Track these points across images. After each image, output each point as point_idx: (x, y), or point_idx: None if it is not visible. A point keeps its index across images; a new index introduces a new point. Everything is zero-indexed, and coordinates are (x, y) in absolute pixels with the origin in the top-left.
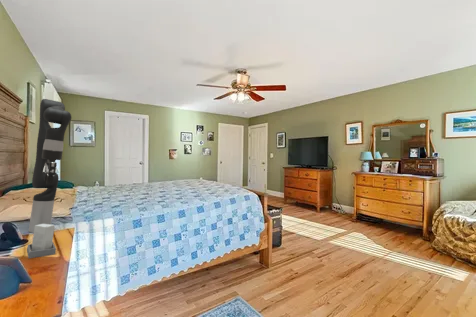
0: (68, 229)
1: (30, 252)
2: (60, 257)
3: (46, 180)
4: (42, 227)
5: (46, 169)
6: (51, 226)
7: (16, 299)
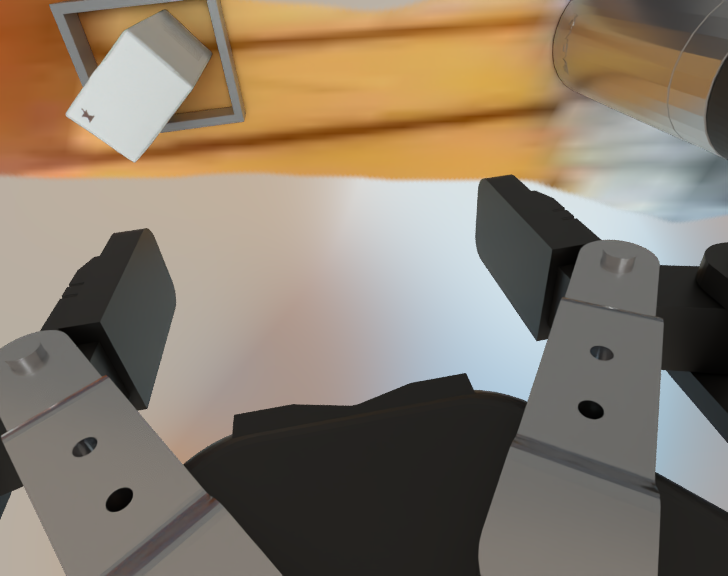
0: (547, 185)
1: (52, 11)
2: (59, 154)
3: (489, 211)
4: (85, 86)
5: (61, 438)
6: (108, 143)
7: None
